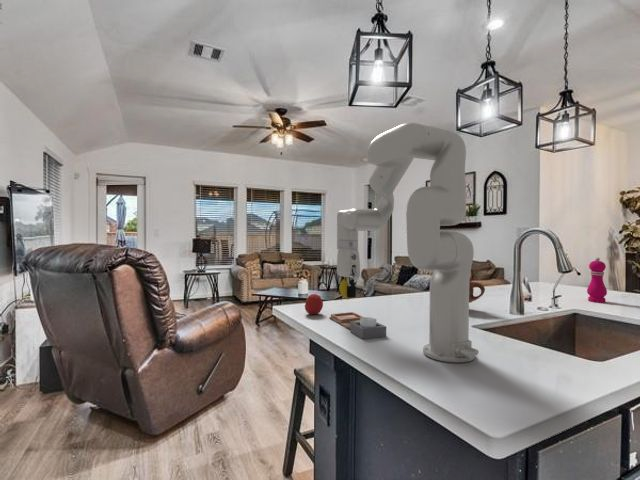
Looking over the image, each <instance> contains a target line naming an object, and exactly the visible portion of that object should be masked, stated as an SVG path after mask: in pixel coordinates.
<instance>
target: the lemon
mask: <svg viewBox="0 0 640 480" xmlns="http://www.w3.org/2000/svg"><path fill="white" fill-rule="evenodd" d="M351 280H352V279H350V282H351ZM339 284H340V293H341V297H343V298H345V300H350V298H348V297H347V286H348V282H347V278H345V277H344V279H343V280H342V281H341V283H339Z"/></svg>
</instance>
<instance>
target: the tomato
mask: <svg viewBox="0 0 640 480" xmlns="http://www.w3.org/2000/svg"><path fill="white" fill-rule="evenodd" d="M303 302H304V303H305V304H304V309H305V312H306V313H308V314H309V315H313V316H316V315H318V314H319V313H321V311H322V309H323V306H324V300H323V299H322V297H321V295H318V294H317V293H311V294H310V295H308V296H307V298H306V300H304V301H303Z"/></svg>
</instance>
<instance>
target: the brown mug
mask: <svg viewBox="0 0 640 480" xmlns="http://www.w3.org/2000/svg"><path fill="white" fill-rule="evenodd" d="M476 287H477V288H479V290H480V294H479V295H477V296H475V295H474V289H475V288H476ZM485 291H486V288H485V285H483V283H481V282H480V281H475V280H473V279H472V277H471V276H470V281H469V304H470V303H473V302H475V301H477V300H478V299H480V298H481V297H483V295H484V294H485Z"/></svg>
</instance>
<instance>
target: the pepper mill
mask: <svg viewBox="0 0 640 480" xmlns="http://www.w3.org/2000/svg"><path fill="white" fill-rule="evenodd" d="M588 268H589V270H590V275H591V276H590V277H591V278H590V283H589V284H588V287H587V289H586V293H587V294H588V297H587V301H588V302H590V303H596V304H597V303H598V304H599V303H600V304H604V303H605V304H606V301H607V300H606V298H605V296H606V297H607V294H608V291H607V288H606V285H605V283H604V275H605V272H604V271H605V270H606V268H607V266H606V264H605V262H603V261H601V258H600V257H599V256H597V257H595V258H594V260H592V261H591V262H589V264H588Z"/></svg>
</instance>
